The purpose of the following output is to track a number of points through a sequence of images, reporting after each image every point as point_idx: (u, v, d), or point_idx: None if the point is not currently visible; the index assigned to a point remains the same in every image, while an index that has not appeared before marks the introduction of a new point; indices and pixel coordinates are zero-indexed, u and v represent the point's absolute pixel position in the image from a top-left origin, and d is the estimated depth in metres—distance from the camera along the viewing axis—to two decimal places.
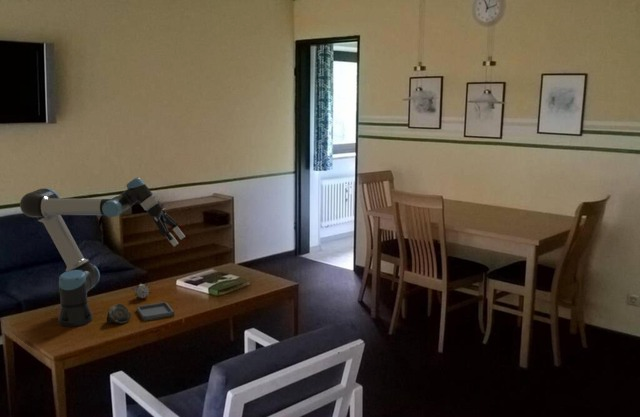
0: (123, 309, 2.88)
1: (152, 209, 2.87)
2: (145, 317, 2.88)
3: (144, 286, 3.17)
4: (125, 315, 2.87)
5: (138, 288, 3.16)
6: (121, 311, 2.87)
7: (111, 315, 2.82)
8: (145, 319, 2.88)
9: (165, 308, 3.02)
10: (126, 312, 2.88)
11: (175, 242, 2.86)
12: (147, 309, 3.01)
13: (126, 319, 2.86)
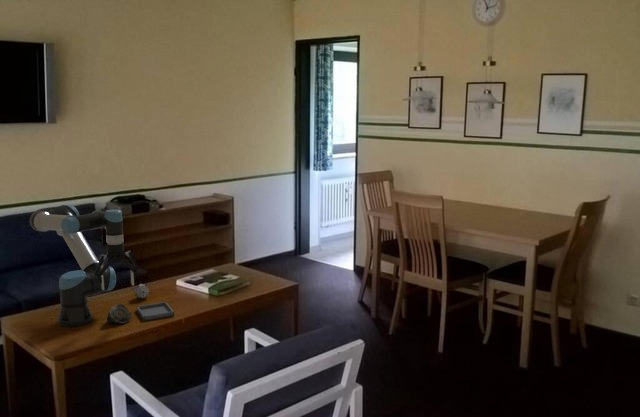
0: (123, 309, 2.88)
1: (107, 246, 2.78)
2: (145, 317, 2.88)
3: (144, 286, 3.17)
4: (125, 315, 2.87)
5: (138, 288, 3.16)
6: (121, 311, 2.87)
7: (111, 315, 2.82)
8: (145, 319, 2.88)
9: (165, 308, 3.02)
10: (126, 312, 2.88)
11: (102, 286, 2.80)
12: (147, 309, 3.01)
13: (126, 319, 2.86)
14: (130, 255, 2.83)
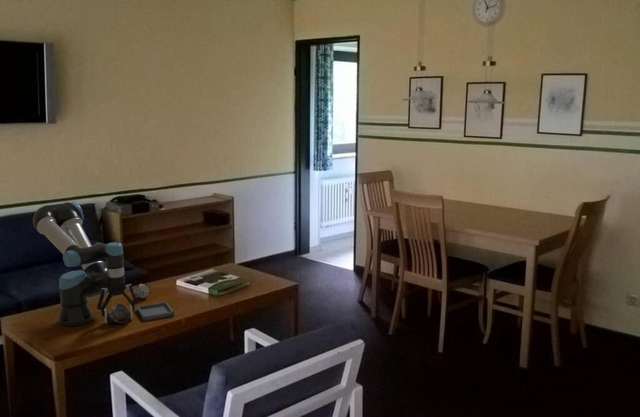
0: (123, 309, 2.88)
1: (108, 279, 2.81)
2: (145, 317, 2.88)
3: (144, 286, 3.17)
4: (125, 315, 2.86)
5: (138, 288, 3.16)
6: (121, 311, 2.87)
7: (111, 315, 2.82)
8: (145, 319, 2.88)
9: (165, 308, 3.02)
10: (126, 312, 2.88)
11: (105, 319, 2.83)
12: (147, 309, 3.01)
13: (126, 319, 2.86)
14: (130, 288, 2.86)
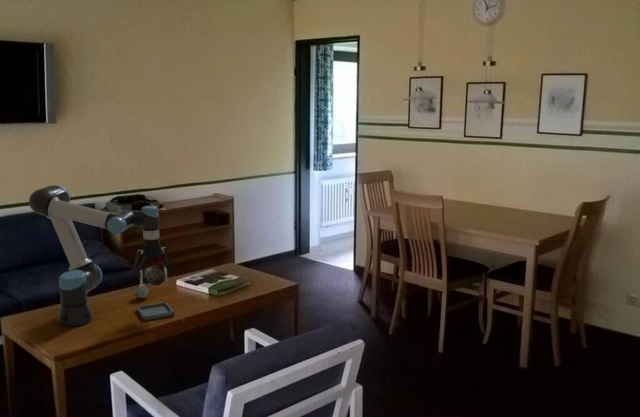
0: (158, 271, 2.96)
1: (144, 241, 2.89)
2: (145, 317, 2.88)
3: (144, 286, 3.17)
4: (160, 277, 2.94)
5: (138, 288, 3.16)
6: (156, 273, 2.94)
7: (147, 276, 2.89)
8: (145, 319, 2.88)
9: (165, 308, 3.02)
10: (161, 274, 2.96)
11: (140, 281, 2.91)
12: (147, 309, 3.01)
13: (161, 281, 2.93)
14: (165, 251, 2.94)
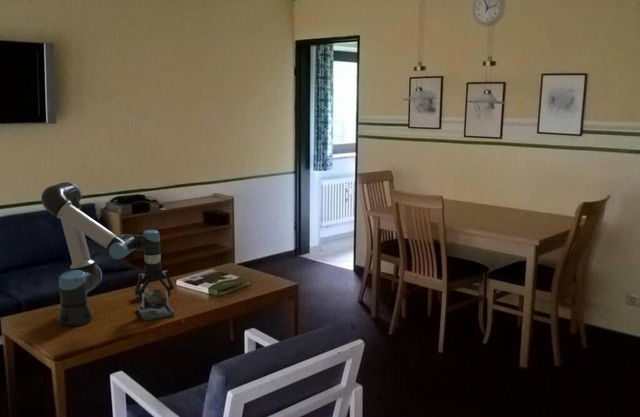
0: (159, 294, 2.98)
1: (145, 265, 2.91)
2: (145, 317, 2.88)
3: None
4: (161, 300, 2.96)
5: None
6: (157, 296, 2.97)
7: (148, 300, 2.92)
8: (145, 319, 2.88)
9: (165, 308, 3.02)
10: (162, 297, 2.98)
11: (142, 304, 2.94)
12: (147, 309, 3.01)
13: (162, 304, 2.96)
14: (166, 274, 2.96)
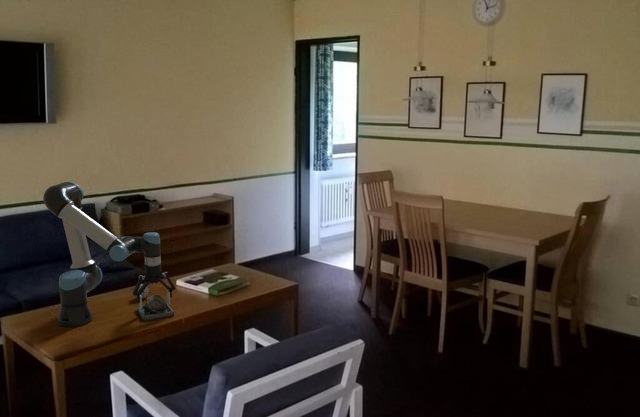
0: (160, 300, 2.99)
1: (145, 268, 2.91)
2: (145, 317, 2.88)
3: None
4: (162, 305, 2.97)
5: None
6: (158, 301, 2.97)
7: (149, 305, 2.92)
8: (145, 319, 2.88)
9: None
10: (163, 303, 2.99)
11: (140, 305, 2.93)
12: None
13: (163, 309, 2.96)
14: (167, 276, 2.96)
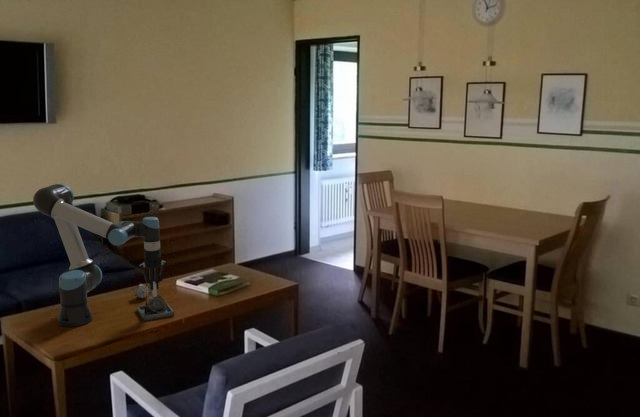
0: (160, 300, 2.99)
1: (144, 252, 2.90)
2: (145, 317, 2.88)
3: (144, 286, 3.17)
4: (162, 305, 2.97)
5: (138, 288, 3.16)
6: (158, 301, 2.97)
7: (149, 305, 2.92)
8: (145, 319, 2.88)
9: None
10: (163, 303, 2.99)
11: (153, 293, 2.95)
12: None
13: (163, 309, 2.96)
14: (164, 265, 2.95)
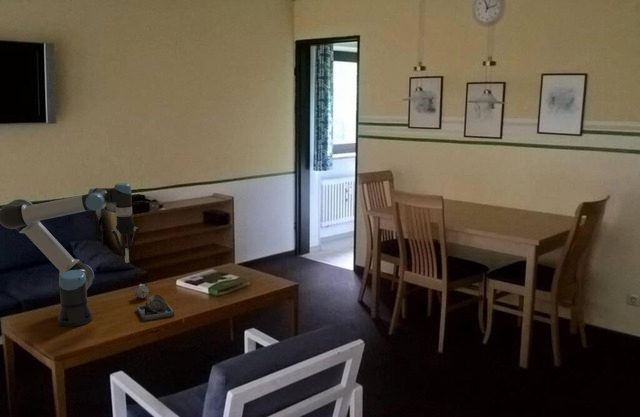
0: (160, 300, 2.99)
1: None
2: (145, 317, 2.88)
3: (144, 286, 3.17)
4: (162, 305, 2.97)
5: (138, 288, 3.16)
6: (158, 302, 2.97)
7: (149, 305, 2.92)
8: (145, 319, 2.88)
9: None
10: (163, 303, 2.99)
11: (125, 259, 2.98)
12: None
13: (163, 309, 2.96)
14: (136, 231, 2.98)
